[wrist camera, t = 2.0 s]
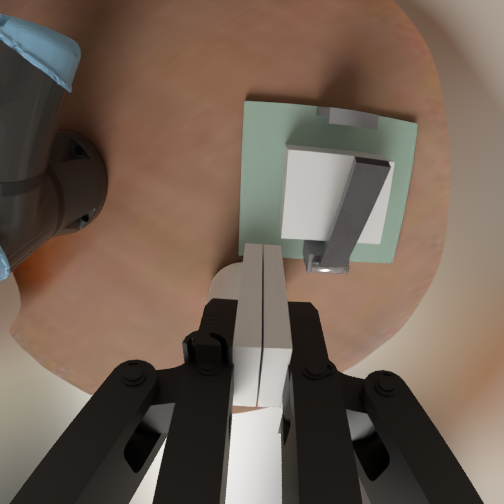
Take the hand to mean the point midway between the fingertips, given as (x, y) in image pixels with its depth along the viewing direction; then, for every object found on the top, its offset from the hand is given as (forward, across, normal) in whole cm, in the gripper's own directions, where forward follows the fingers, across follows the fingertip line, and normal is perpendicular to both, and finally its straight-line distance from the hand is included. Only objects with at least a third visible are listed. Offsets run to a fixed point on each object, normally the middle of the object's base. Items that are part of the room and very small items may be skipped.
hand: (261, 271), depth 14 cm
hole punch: (+26, +8, -2) cm, 28 cm away
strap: (+16, +9, -3) cm, 18 cm away
